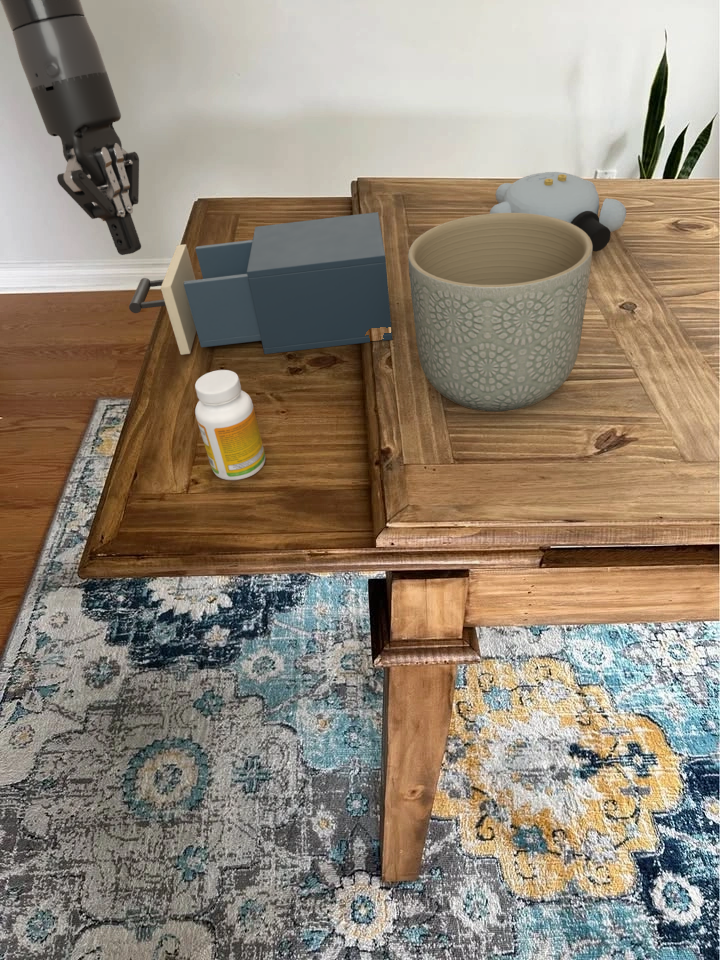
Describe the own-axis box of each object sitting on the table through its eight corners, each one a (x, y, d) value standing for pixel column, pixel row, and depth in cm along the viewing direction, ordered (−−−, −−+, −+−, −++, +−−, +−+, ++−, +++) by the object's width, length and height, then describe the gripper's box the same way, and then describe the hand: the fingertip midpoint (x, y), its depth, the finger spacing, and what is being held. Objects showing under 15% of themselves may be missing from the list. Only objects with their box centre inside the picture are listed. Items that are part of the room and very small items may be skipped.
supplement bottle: (276, 453, 73) (257, 369, 67) (248, 486, 69) (225, 401, 63) (231, 443, 75) (208, 361, 69) (201, 475, 71) (175, 392, 65)
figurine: (464, 228, 110) (541, 289, 97) (467, 172, 104) (549, 229, 91) (560, 201, 115) (646, 255, 101) (568, 145, 109) (660, 196, 95)
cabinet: (264, 354, 88) (246, 271, 82) (270, 303, 99) (255, 226, 92) (392, 339, 88) (385, 255, 81) (385, 290, 98) (378, 211, 91)
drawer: (138, 359, 89) (115, 292, 83) (156, 312, 98) (136, 249, 93) (298, 341, 88) (286, 272, 82) (301, 295, 98) (290, 231, 92)
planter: (519, 453, 69) (525, 304, 59) (384, 397, 78) (371, 260, 69) (608, 372, 77) (627, 230, 68) (478, 330, 87) (477, 201, 77)
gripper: (73, 80, 79) (130, 242, 87) (-5, 91, 68) (69, 274, 76) (132, 64, 77) (185, 232, 85) (62, 72, 66) (131, 264, 74)
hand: (130, 252), depth 81 cm, fingers closed
